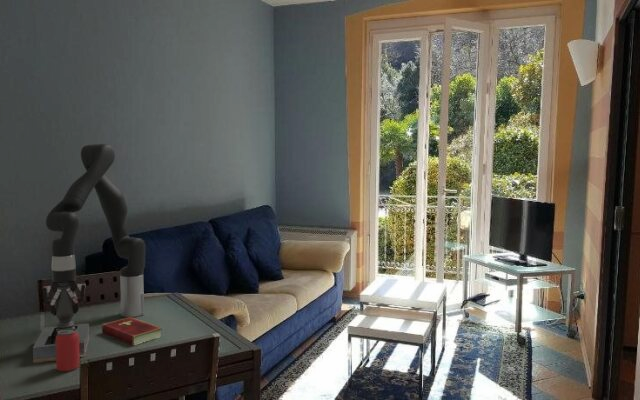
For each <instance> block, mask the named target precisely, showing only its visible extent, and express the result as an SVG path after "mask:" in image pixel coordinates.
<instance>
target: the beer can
mask: <svg viewBox="0 0 640 400" xmlns="http://www.w3.org/2000/svg"><path fill="white" fill-rule="evenodd" d="M55 361H56V362H55V366H56V367H55V368H56V370H57V371H58V372H62V371H63V372H65V371H66V372H71V371H75V370H76V369H77V368H79V367H80V365H79V363H80V358H79V335H78V333H77V329H74V328H68V329H62V330H60V331H58V332H57V336H56V360H55Z"/></svg>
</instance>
